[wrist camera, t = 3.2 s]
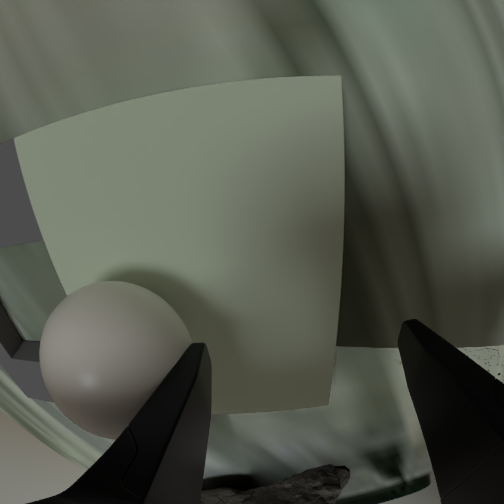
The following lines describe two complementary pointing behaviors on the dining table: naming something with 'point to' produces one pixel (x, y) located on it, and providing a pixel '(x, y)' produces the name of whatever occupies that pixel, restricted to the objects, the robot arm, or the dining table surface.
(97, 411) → the ball
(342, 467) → the stone
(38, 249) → the dining table surface
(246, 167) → the panel
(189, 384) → the robot arm
